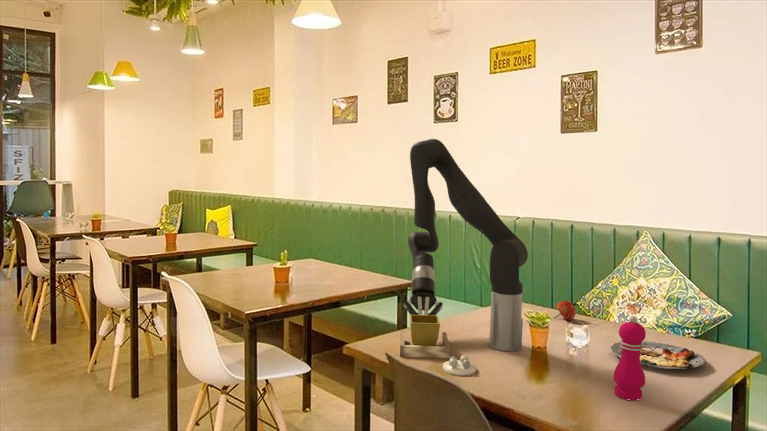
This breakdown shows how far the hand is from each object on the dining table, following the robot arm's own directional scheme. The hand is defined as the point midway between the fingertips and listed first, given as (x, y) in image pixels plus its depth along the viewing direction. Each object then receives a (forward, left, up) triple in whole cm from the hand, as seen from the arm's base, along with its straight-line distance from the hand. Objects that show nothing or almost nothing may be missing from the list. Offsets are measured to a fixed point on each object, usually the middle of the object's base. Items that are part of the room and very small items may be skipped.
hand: (423, 329), depth 178 cm
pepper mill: (-49, +36, -4) cm, 61 cm away
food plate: (-68, +8, -5) cm, 69 cm away
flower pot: (0, +5, -4) cm, 6 cm away
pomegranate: (-53, -33, -5) cm, 63 cm away
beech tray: (0, +5, -4) cm, 7 cm away
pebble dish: (-9, +22, -4) cm, 24 cm away
